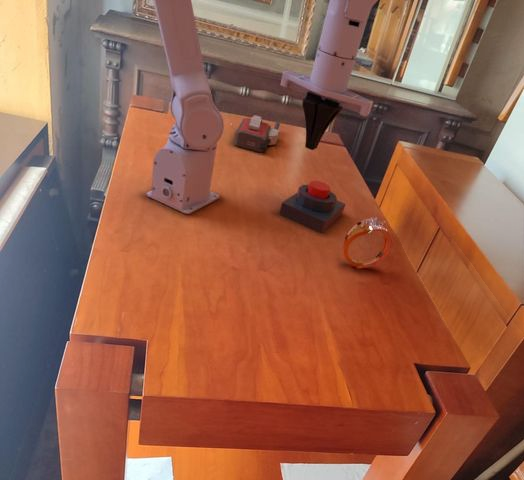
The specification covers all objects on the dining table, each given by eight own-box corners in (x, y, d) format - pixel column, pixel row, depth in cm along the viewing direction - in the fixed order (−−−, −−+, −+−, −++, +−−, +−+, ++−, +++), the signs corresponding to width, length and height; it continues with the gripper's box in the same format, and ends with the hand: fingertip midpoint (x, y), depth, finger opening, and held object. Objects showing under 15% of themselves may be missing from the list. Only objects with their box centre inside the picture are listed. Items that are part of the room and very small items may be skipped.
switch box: (321, 233, 80) (328, 210, 77) (278, 214, 82) (284, 192, 79) (341, 215, 87) (349, 194, 84) (302, 198, 89) (308, 177, 86)
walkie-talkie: (272, 158, 101) (280, 130, 117) (277, 136, 98) (285, 111, 114) (231, 147, 101) (245, 121, 116) (235, 125, 98) (248, 101, 113)
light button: (322, 202, 80) (325, 192, 79) (303, 194, 81) (306, 184, 80) (330, 196, 83) (333, 186, 82) (311, 188, 84) (314, 178, 83)
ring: (337, 269, 72) (356, 220, 67) (334, 258, 74) (351, 209, 69) (381, 276, 73) (403, 229, 68) (377, 265, 76) (397, 218, 70)
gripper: (390, 66, 72) (359, 157, 81) (303, 37, 75) (282, 128, 84) (376, 71, 67) (345, 167, 75) (284, 39, 70) (264, 135, 79)
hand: (311, 147), depth 79 cm, fingers closed
